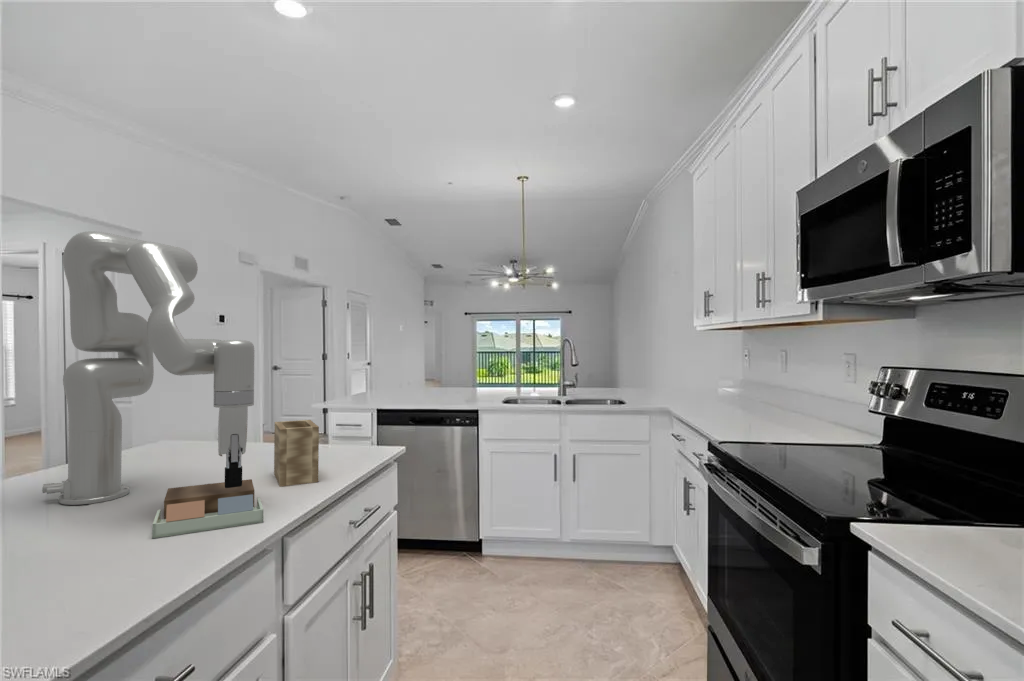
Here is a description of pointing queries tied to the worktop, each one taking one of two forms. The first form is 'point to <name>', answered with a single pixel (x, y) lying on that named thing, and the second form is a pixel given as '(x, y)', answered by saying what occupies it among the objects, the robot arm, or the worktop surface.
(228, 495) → the walnut board
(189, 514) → the terracotta tile
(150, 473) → the worktop surface
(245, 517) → the tray
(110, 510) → the worktop surface
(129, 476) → the worktop surface
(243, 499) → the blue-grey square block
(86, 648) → the worktop surface
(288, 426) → the utensil caddy
